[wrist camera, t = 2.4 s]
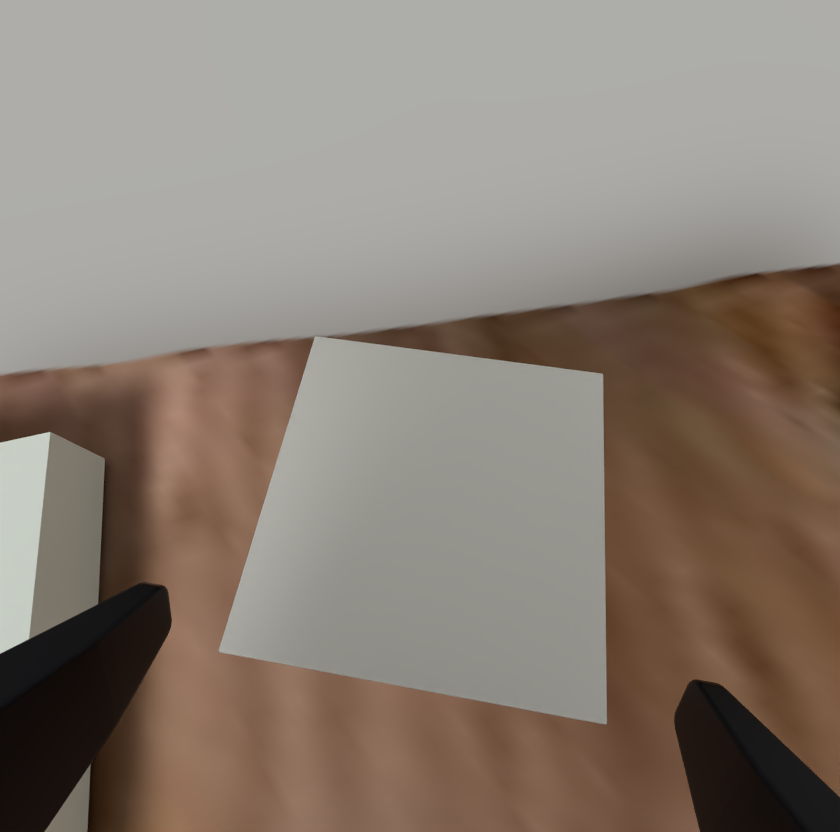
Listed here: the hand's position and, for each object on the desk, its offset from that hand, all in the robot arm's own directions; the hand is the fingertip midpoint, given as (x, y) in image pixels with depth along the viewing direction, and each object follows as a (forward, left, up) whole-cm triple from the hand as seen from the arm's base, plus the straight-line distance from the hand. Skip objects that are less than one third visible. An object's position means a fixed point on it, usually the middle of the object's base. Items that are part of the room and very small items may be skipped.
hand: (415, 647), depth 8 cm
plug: (+2, -1, -9) cm, 9 cm away
